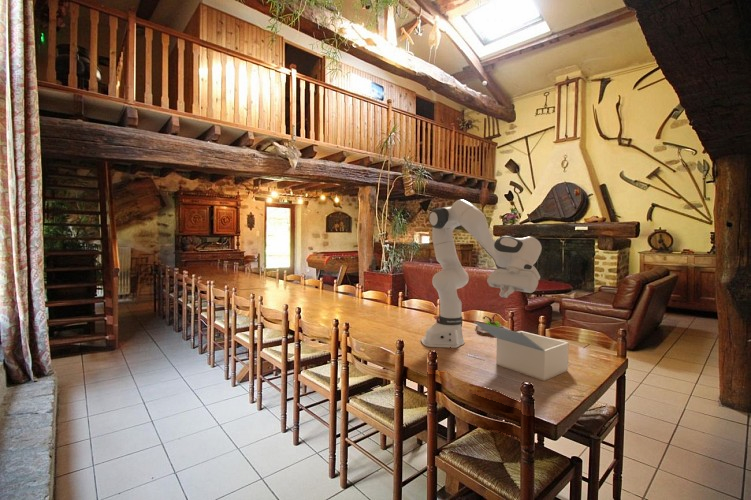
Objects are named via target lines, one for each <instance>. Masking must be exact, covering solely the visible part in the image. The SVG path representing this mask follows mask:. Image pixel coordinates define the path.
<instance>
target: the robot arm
mask: <svg viewBox="0 0 751 500" xmlns="http://www.w3.org/2000/svg"><path fill="white" fill-rule="evenodd" d="M428 221H429V224H430V226H431V227H432V230H431V234H432V235H431V237H432V246H433V250H434V256H435V259H436V262H437V263H439V264H440V266H441V267H442V270H440V271H438V272H436V273H435V274H434V275H433V276H432V279H431V282H432V286H433V288H434V289H435V290H436V291H437V294H438V298H439V315H436V314H435V315H434V316H433V318H434V320H436V322H435V323H433V324H432V325H431V326H430V327H428V328H427V329H426V331H425V336H424V337H422V338H421V339H420V341H421V343H422V344H423V345H424V346H425V347H427V348H450V347H451V349H452V348H454V349H457V348H459V347H460V346H462V345H463V346H464V344H465V340H464V337H463V336H464V335H463V328H462V327H463V316H462V300H461V299H460V298H459V295H458V291H457V290H459V289H461V288H464V287H465V286H466V285H467V284H468V282H469V280H470V278H469V273H468V272H467V271H466V270H465V268H464V267H463V266H462V264H461V261H460V260H459V256H458V254H457V250H456V245H455V239H454V235H453V232H454V230H456V231H457V230H459V229H460V228H461V227H463V229H464V230H465V231H467V232H468V233H469V234H470V236H472V237H473V239H474V240H475V241H476V242H477V243H478V244H479V246H480V247H481V248H483V250H484V251H485V253H487V254H488V255H489V256H490V257H491V259H492V260H493V261H494V265H495V267H496V269H494V270H493V271H492V272H491V274H490V275H489V276H488V278H487V279H486V282H487V284H488V286H489V287H491V288H496V289H500V292H499V293H498V295H499V296H500V298H506V299H508V298H509V296H510V295H512V294H513V293H514V292H521V293H522V292H523V293H529V294H532V293H533V292H535V291H536V289H537V288H538V285H539V281H540V280H541V275H540V272H539V271H538V270H537V268H536V267H535V266H534V265H535V264H536V263H537V261H538V260H539V257H540V256H541V253H542V250H543V249H542V244H541V242H540V240H539V239H537V238H535V237H534V236H526V237H513V236H511V235H502V236H500V237H498V238H497V239H496V240H495V239H494V237H493V236H492V234H491V231H490V228H489V224H488V220H487V217H486V216H485V214H484V213H483V211H482V210H480V209H479V208H478V207H477V206H476V205H474V204H472V203H471V202H470V201H468V200H465V199H457V200H456V201H455V202H453V203H452V205H451V206H445V207H435V208H434V209H432V210H431V211H430V213H429V215H428Z"/></svg>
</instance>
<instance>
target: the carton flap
mask: <svg viewBox="0 0 751 500" xmlns="http://www.w3.org/2000/svg"><path fill="white" fill-rule="evenodd" d="M473 323H474V324H475V325H476V326H477V325H478V326H480V327H481V328H483V329H484V330H485V331H487V332H488V333H490V334H491V335H493V336H494V337H493V338H496V339H497V338H498V339H502V340H505V341H509V342H512V343H516V344H520V345H523V346H527V347H530V348H534V349H537V350H541V351H545V350H544V349H542V348H541V347H540V346H538V345H537V344H536V343H534V342H533V341H532V340H530V339H529V338H528V337H527V336H525V335H524V334H523V333H519V331H516V330H507V329H503V328H499V327H495V326H491V325H487V323H486V324H485V323H483V322H479V321H476V320H475V321H473Z"/></svg>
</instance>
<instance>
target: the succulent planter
mask: <svg viewBox="0 0 751 500" xmlns="http://www.w3.org/2000/svg"><path fill="white" fill-rule="evenodd" d="M495 317H496V318H499V317H500V315H499V313H494V314H493V316H492V318H490V317H489V316H487V315H484V316H483V317H482V320H485V319H486V318H487V319H488V320H489V321H488V320H486V321H485V322H484V324H487V325H491V326H495V327H499V328H503V329H507V330H511V328H510V327H508V326H505V325H503V324H502V323H500V321H497V320H496V321H495ZM475 330H476V334H478V335H479V334H480V335H479V336H483V337H492V338H495V337H494V336H493V335H491V334H490V333H488V332H487V331H485V330H484V329H483V328H481V327H480V326H478V325H477V324H476V325H475ZM511 331H512V330H511Z"/></svg>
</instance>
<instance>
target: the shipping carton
mask: <svg viewBox="0 0 751 500" xmlns="http://www.w3.org/2000/svg"><path fill="white" fill-rule="evenodd" d="M518 332H519V333H523V334H524V335H525V336H527V337H528V338H529V339H530V340H532V341H533V342H534V343H536V344H537V345H538V346H540V347H541V348H542V349H544V350H545V351H541V350H537V349H534V348H530V347H527V346H523V345H520V344H516V343H512V342H509V341H505V340H502V339H498V338H496V366H500V367H503V368H506V369H508V370H511V371H514V372H517V373H520V374H522V375H526V376H529V377H532V378H533V379H537V380H540V381H543V382H545V381H548V380H550V379H552V378H555V377H556V376H559V375H561V374H564V373H566V372H568V371H569V370H568V368H569V367H568V366H569V365H568V364H569V358H570V357H569V354H570V353H569V350H570V342H568V341H564V340H560V339H556V338H552V337H547V336H544V335H540V334H535V333H531V332H527V331H524V330H519V331H518Z"/></svg>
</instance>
